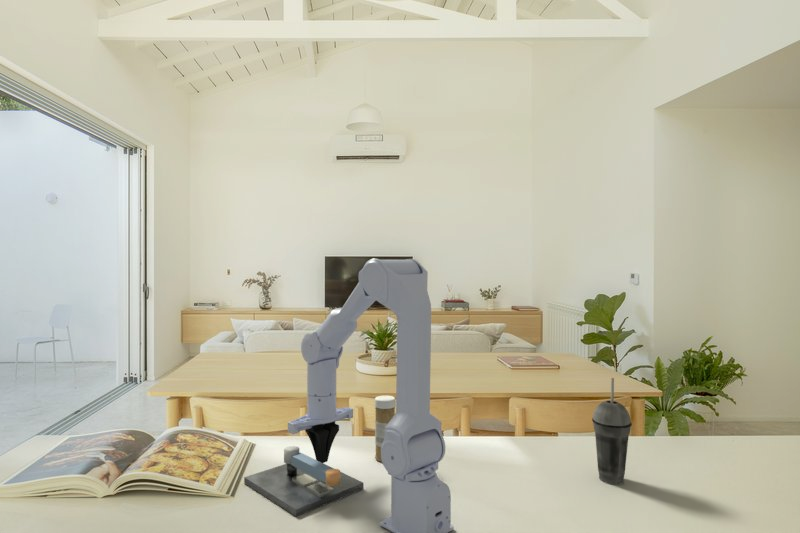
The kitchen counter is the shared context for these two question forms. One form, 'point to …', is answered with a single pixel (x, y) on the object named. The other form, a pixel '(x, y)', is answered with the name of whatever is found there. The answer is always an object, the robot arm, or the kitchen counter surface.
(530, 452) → the kitchen counter surface
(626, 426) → the beverage cup
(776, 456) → the kitchen counter surface
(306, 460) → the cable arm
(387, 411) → the sprinkles bottle
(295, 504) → the board
